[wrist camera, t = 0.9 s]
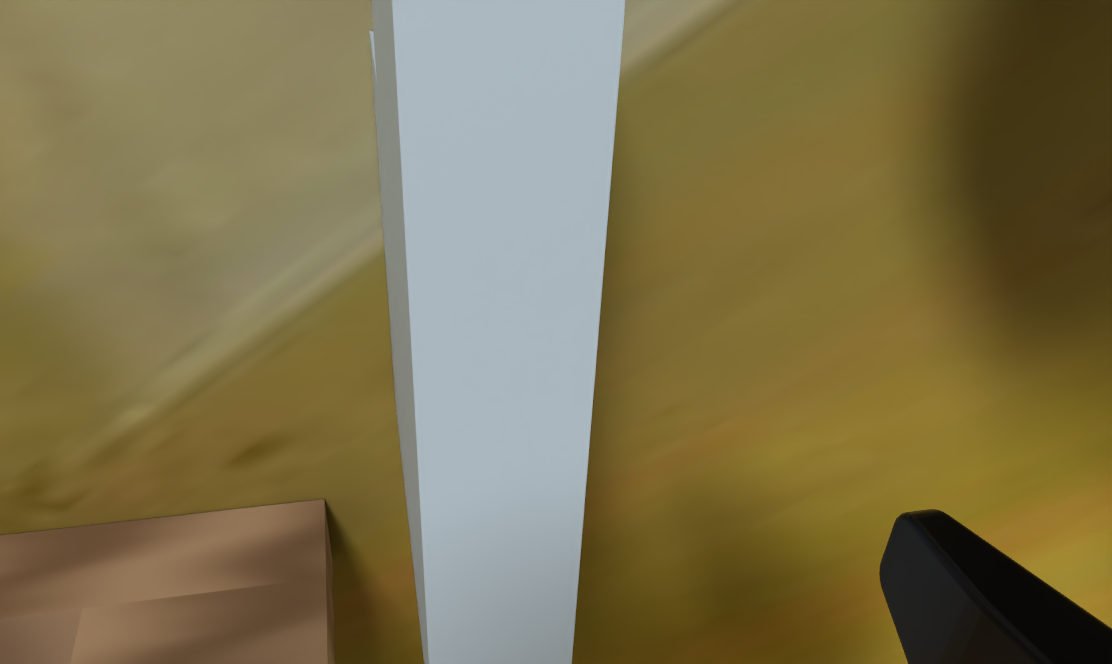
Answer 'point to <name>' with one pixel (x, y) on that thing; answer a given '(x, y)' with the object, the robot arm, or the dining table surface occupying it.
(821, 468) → the dining table surface
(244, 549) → the brown wooden block
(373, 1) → the light blue rectangular panel
